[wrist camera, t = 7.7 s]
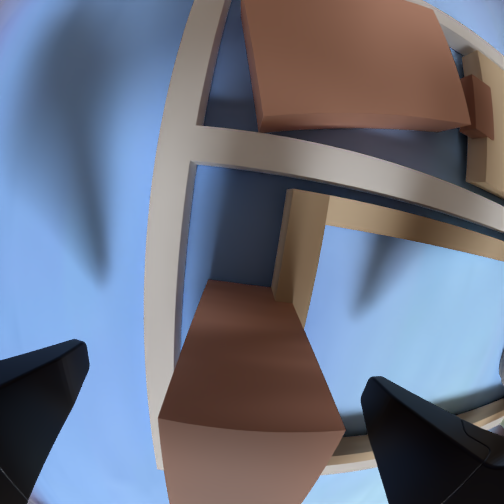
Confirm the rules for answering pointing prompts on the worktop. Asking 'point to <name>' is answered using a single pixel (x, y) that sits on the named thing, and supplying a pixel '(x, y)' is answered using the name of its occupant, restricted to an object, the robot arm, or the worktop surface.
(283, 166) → the lane tray
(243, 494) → the tan rectangular frame
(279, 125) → the reddish brown block
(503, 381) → the coffee cup
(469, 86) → the tan long flat piece
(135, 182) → the worktop surface
